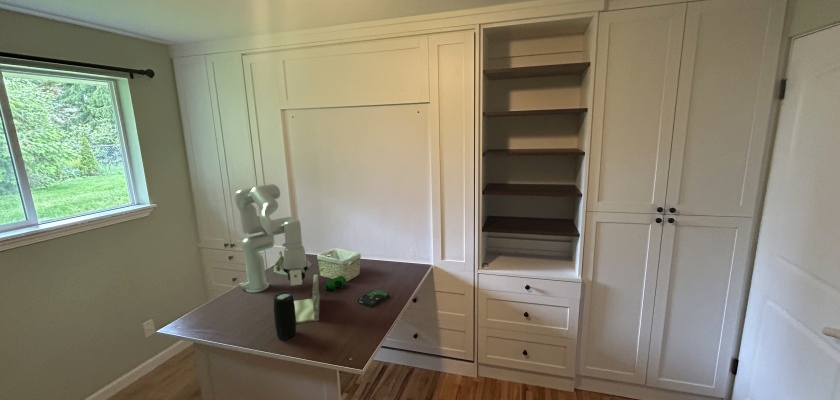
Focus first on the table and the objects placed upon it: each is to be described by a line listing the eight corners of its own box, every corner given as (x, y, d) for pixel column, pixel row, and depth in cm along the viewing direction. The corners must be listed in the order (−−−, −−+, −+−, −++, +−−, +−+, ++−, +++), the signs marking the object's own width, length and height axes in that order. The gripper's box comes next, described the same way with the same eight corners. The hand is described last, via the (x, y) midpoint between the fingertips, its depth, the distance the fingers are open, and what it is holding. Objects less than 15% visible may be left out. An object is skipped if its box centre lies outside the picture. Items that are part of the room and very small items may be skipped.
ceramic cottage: (274, 267, 228) (273, 246, 225) (300, 265, 233) (299, 245, 229) (270, 277, 214) (269, 255, 210) (298, 275, 218) (297, 254, 215)
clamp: (332, 298, 193) (327, 288, 187) (327, 293, 196) (322, 283, 191) (349, 285, 199) (345, 275, 193) (344, 280, 202) (339, 270, 197)
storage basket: (317, 276, 214) (315, 254, 211) (336, 267, 227) (334, 246, 224) (344, 284, 201) (343, 261, 199) (362, 274, 215) (361, 252, 212)
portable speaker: (288, 327, 156) (284, 288, 152) (301, 333, 151) (298, 293, 147) (271, 336, 149) (267, 296, 145) (285, 343, 144) (281, 301, 140)
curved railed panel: (276, 326, 157) (273, 297, 154) (282, 304, 178) (279, 278, 175) (318, 320, 162) (316, 292, 159) (319, 299, 183) (317, 274, 180)
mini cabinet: (290, 286, 161) (289, 272, 160) (292, 278, 171) (291, 265, 169) (301, 285, 162) (300, 271, 161) (302, 277, 172) (301, 264, 171)
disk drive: (371, 309, 173) (390, 297, 185) (371, 304, 172) (389, 293, 184) (357, 303, 179) (376, 292, 191) (356, 299, 178) (376, 288, 190)
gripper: (274, 249, 158) (277, 285, 161) (311, 245, 162) (314, 281, 166) (276, 244, 165) (279, 279, 168) (312, 241, 169) (315, 275, 173)
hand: (296, 279), depth 167 cm, fingers closed on mini cabinet, 5 cm apart
